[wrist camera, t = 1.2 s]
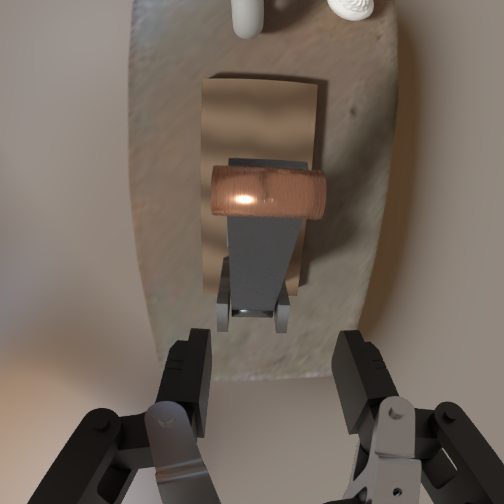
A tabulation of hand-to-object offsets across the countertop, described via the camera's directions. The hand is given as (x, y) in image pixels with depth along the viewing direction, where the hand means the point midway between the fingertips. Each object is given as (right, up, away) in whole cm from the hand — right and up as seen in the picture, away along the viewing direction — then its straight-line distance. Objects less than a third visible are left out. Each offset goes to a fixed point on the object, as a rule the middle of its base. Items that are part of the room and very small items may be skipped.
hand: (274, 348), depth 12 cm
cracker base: (0, +12, +29) cm, 31 cm away
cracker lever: (0, +6, +18) cm, 19 cm away
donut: (-2, +34, +19) cm, 39 cm away
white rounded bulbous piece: (+11, +36, +18) cm, 42 cm away
